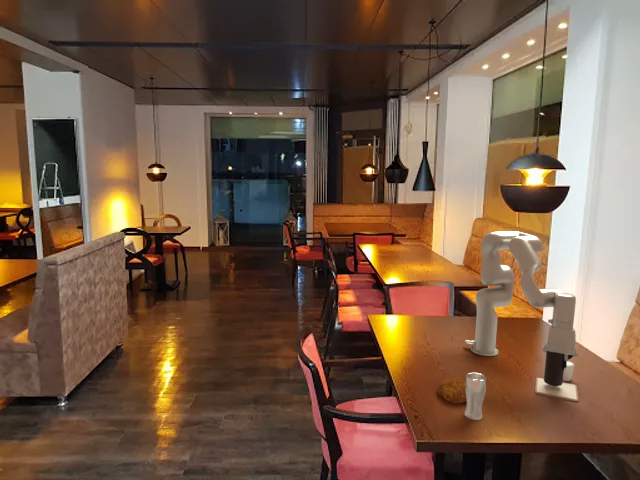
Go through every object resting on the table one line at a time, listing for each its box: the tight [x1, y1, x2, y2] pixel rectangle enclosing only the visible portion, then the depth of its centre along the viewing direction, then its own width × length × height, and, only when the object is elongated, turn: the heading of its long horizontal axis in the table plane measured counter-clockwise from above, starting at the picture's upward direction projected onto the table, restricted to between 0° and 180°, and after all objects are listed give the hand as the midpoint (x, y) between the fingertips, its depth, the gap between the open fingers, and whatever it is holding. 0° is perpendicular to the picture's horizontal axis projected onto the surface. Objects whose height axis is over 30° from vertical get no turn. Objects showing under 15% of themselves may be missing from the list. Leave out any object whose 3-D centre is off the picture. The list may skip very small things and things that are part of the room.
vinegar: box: [543, 350, 565, 386], centre depth 190 cm, size 7×7×20 cm
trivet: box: [534, 376, 579, 403], centre depth 190 cm, size 15×15×1 cm
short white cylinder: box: [563, 360, 575, 382], centre depth 201 cm, size 7×7×7 cm
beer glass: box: [464, 372, 487, 421], centre depth 168 cm, size 7×7×15 cm
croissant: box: [437, 376, 466, 405], centre depth 184 cm, size 14×16×8 cm
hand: (558, 367), depth 189 cm, fingers closed on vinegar, 2 cm apart
